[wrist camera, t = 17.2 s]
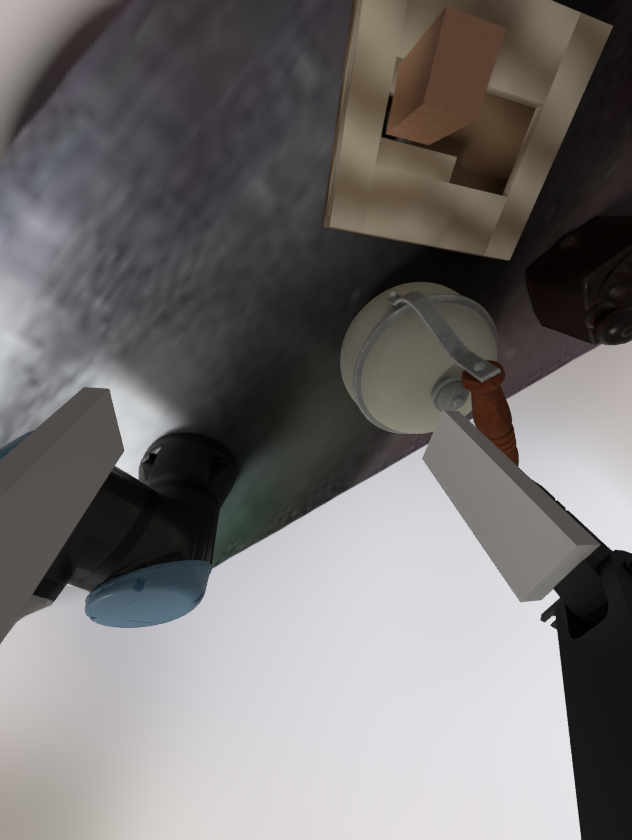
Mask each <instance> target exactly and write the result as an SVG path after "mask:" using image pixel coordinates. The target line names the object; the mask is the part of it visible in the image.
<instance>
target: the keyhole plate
mask: <svg viewBox="0 0 632 840" xmlns="http://www.w3.org/2000/svg"><path fill="white" fill-rule="evenodd" d="M446 6H449V7H452V8H454V9H457V10H460V11H462V12H465V13H468V14H470V15H473V16H475V17H478V18H481V19H483V20H486V21H489V22H491V23H494V24H497V25H499V26H502V27H505V28H506V31H505V34H504V37H503V40H502V43H501V46H500V49H499V53H498V56H497V59H496V62H495V65H494V68H493V71H492V75H491V78H490V81H489V84H488V87H487V90H486V93H485V97H484V100H483V103H482V106H481V109H480V112H479V115H478V119H477V120H476V121H474V122H472V123H471V124H469V125H467V126H465V127H463V128H461V129H459V130H457V131H455V132H453V133H451V134H449V135H447V136H445V137H444V138H442V139H440V140H438V141H436V142H434V143H432V144H430V145H426V144H422V143H418V142H415V141H412V142H411V144H410V145H409V144H405V143H401V142H397V141H393V140H390V139H386V138H382V137H381V133H382V128H383V123H384V118H385V113H386V108H387V103H388V98H389V96H390V97H393V96H394V91H395V86H396V81H397V76H398V71H399V66H400V63H401V62H402V61H403V59H404V58H405V57H406V56H407V54H408V53H409V52H410V51H411V49H412V48H413V47H414V46H415V44H416V43H417V42H418V41H419V40H420V38H421V37H422V36H423V35H424V33H425V32H426V31H427V30H428V28H429V27H430V26H431V25H432V23H433V22H434V21H435V20H436V19H437V17H438V16H439V15H440V14H441V12H442V11H443V10H444V9H445V7H446ZM612 27H613V26H612V25H610V24H607V23H605V22H602V21H600V20H598V19H595V18H593V17H590V16H588V15H586V14H583V13H581V12H578V11H576V10H573V9H571V8H569V7H566V6H564V5H561V4H559V3H557V2H554V1H552V0H353V3H352V10H351V18H350V25H349V32H348V40H347V47H346V54H345V62H344V69H343V76H342V84H341V91H340V99H339V106H338V113H337V121H336V128H335V135H334V143H333V150H332V157H331V165H330V172H329V179H328V187H327V194H326V202H325V209H324V216H323V224H322V227H325V228H331V229H336V230H341V231H347V232H352V233H357V234H363V235H368V236H373V237H379V238H384V239H389V240H394V241H400V242H405V243H410V244H416V245H421V246H426V247H432V248H437V249H442V250H448V251H453V252H458V253H464V254H469V255H474V256H480V257H486V258H494V259H501V260H509V261H510V259H511V256H512V254H513V252H514V249H515V247H516V245H517V243H518V240H519V238H520V236H521V234H522V231H523V229H524V227H525V225H526V222H527V220H528V218H529V215H530V213H531V211H532V209H533V206H534V204H535V202H536V200H537V197H538V195H539V193H540V191H541V188H542V186H543V184H544V181H545V179H546V177H547V175H548V172H549V170H550V168H551V166H552V163H553V161H554V159H555V157H556V154H557V152H558V150H559V147H560V145H561V143H562V141H563V138H564V136H565V134H566V132H567V129H568V127H569V125H570V123H571V120H572V118H573V116H574V114H575V111H576V109H577V107H578V104H579V102H580V100H581V98H582V95H583V93H584V91H585V89H586V86H587V84H588V82H589V80H590V77H591V75H592V73H593V70H594V68H595V66H596V64H597V61H598V59H599V57H600V55H601V52H602V50H603V48H604V46H605V43H606V41H607V39H608V36H609V34H610V32H611V30H612Z"/></svg>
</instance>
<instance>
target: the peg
mask: <svg viewBox="0 0 632 840" xmlns="http://www.w3.org/2000/svg"><path fill="white" fill-rule="evenodd" d="M505 31H506V28H505V27H502V26H499V25H497V24H494V23H491V22H489V21H486V20H483V19H481V18H478V17H475V16H473V15H470V14H468V13H465V12H462V11H460V10H457V9H454V8H452V7H449V6H446V7H445V9H444V10H443V11H442V12H441V14H440V15H439V16H438V17H437V19H436V20H435V21H434V22H433V23H432V25H431V26H430V27H429V28H428V30H427V31H426V32H425V33H424V35H423V36H422V37H421V38H420V40H419V41H418V42H417V43H416V44H415V46H414V47H413V48H412V49H411V51H410V52H409V53H408V54H407V56H406V57H405V58H404V59H403V61H402V62H401V63H400V66H399V71H398V76H397V81H396V86H395V91H394V96H393V97H390V96H389V98H388V103H387V108H386V113H385V118H384V123H383V128H382V133H381V137H382V138H386V139H390V140H393V141H397V142H401V143H405V144H409V145H410V144H411V142H412V141H415V142H418V143H422V144H426V145H430V144H432V143H434V142H436V141H438V140H440V139H442V138H444V137H445V136H447V135H449V134H451V133H453V132H455V131H457V130H459V129H461V128H463V127H465V126H467V125H469V124H471V123H472V122H474V121H476V120H477V119H478V115H479V112H480V109H481V106H482V103H483V100H484V97H485V93H486V90H487V87H488V84H489V81H490V78H491V75H492V71H493V68H494V65H495V62H496V59H497V56H498V53H499V49H500V46H501V43H502V40H503V37H504V34H505Z"/></svg>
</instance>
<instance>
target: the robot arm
mask: <svg viewBox="0 0 632 840" xmlns="http://www.w3.org/2000/svg"><path fill="white" fill-rule="evenodd" d="M123 452H124V447H123V443H122V439H121V435H120V431H119V427H118V423H117V419H116V415H115V411H114V407H113V403H112V399H111V394H110V390H109V389H104V388H88V387H84V388H83V389H82V390H80V391H79V392H78V393H77V394H76V395H75V396H73V397H72V398H71V399H70V400H69V401H68V402H67V403H65V404H64V405H63V406H62V407H61V408H60V409H58V410H57V411H56V412H55V413H54V414H53V415H52V416H50V417H49V418H48V419H47V420H46V421H45V422H43V423H42V424H41V425H40V426H39V427H38V428H37V429H35V430H34V431H31V432H28V433H26V434H24V435H22V436H20V437H18V438H17V439H15V440H13V441H12V442H10V443H8V444H7V445H5V446H3V447H2V448H0V644H1V642H2V641H3V639H4V638H5V636H6V635H7V634H8V633H9V631H10V630H11V629H12V627H13V626H14V625H15V623H16V622H17V621H19V620H20V619H21V618H23V617H24V616H26V615H29V614H31V613H33V612H36V611H38V610H41V609H43V608H45V607H47V606H50V605H51V604H52V603H53V602H54V601H55V600H56V598H57V597H58V595H59V594H60V593H61V591H62V590H63V588H64V587H65V586H66V585H67V584H70V585H73V586H76V587H79V588H82V589H85V590H87V591H89V592H90V593H89V595H88V596H87V598H86V601H85V602H86V605H85V613H86V614H87V616H88V617H90V619H91V620H92V621H94V622H96V623H98V624H101V625H105V626H111V627H120V628H137V627H146V626H153V625H158V624H163V623H166V622H169V621H172V620H175V619H177V618H180V617H182V616H184V615H186V614H187V613H188V612H190V611H191V610H193V609H194V608H195V607H196V606H197V605H198V604H199V603H200V601H201V600H202V598H203V596H204V594H205V590H206V586H207V582H208V578H209V574H210V573H211V570H212V566H211V565H212V558H213V552H214V545H215V538H216V531H217V524H218V518H219V511H220V508H221V506H222V505H223V503H224V501H225V500H226V498H227V497H228V495H229V493H230V492H231V490H232V488H233V486H234V483H235V478H236V463H235V460H234V458H233V456H232V454H231V453H230V452H229V450H228V449H227V448H226V447H224V446H223V445H222V444H220V443H219V442H217V441H215V440H214V439H211V438H209V437H206V436H203V435H198V434H192V433H179V434H173V435H169V436H166V437H163V438H161V439H159V440H157V441H156V442H154V443H153V444H152V445H151V446H150V447H149V448H148V450H147V451H146V453H145V455H144V457H143V458H142V460H141V463H140V466H139V480H137V479H136V478H134V477H132V476H131V475H129V474H127V473H126V472H124V471H123V470H121V469H119V468H118V467H116V466H115V464H116V463H117V461H118V460H119V458H120V457H121V455H122V454H123ZM422 459H423V460H424V462H425V463H426V465H427V466H428V468H429V469H430V470H431V472H432V473H433V475H434V477H435V478H436V479H437V481H438V482H439V484H440V485H441V487H442V488H443V490H444V491H445V493H446V494H447V496H448V497H449V498H450V500H451V501H452V503H453V504H454V506H455V507H456V509H457V510H458V512H459V513H460V514H461V516H462V518H463V519H464V520H465V522H466V523H467V525H468V526H469V528H470V529H471V531H472V532H473V534H474V535H475V537H476V538H477V539H478V541H479V542H480V544H481V545H482V547H483V548H484V550H485V551H486V553H487V554H488V556H489V557H490V559H491V560H492V561H493V563H494V564H495V566H496V567H497V569H498V570H499V572H500V573H501V575H502V576H503V577H504V579H505V580H506V582H507V583H508V585H509V586H510V588H511V589H512V591H513V592H514V594H515V595H516V597H517V598H518V599H519V601H520V602H526V601H537V600H542V599H543V598H544V597H545V596H546V595H547V594H548V593H549V592H550V591H551V590H553V589H554V590H555V591H556V593H557V594H558V595H559V596H560V598H559V599H558V600H557V601H556V602H555V603H554V604H553V605H552V606H550V607H549V608H548V609H547V610H546V611H545V612H544V613H542V615H541V621H543V622H546V621H547V620H548V619H549V618H550V617H551V616H556V620H555V621H554V622H553V623H552V624H551V626H552V627H553V628H555V629H557V632H558V640H559V649H560V658H561V666H562V675H563V684H564V692H565V701H566V709H567V718H568V727H569V736H570V745H571V753H572V762H573V771H574V779H575V788H576V795H577V796H576V797H577V805H578V813H579V822H580V831H581V840H632V553H629V552H626V551H621V550H614V551H612V550H610V549H609V548H608V547H607V546H606V545H605V544H604V543H603V542H601V541H600V540H599V539H598V538H597V537H596V536H595V535H594V534H593V533H592V532H591V531H590V530H589V529H588V528H587V527H585V526H584V525H583V524H582V523H581V522H580V521H579V520H578V519H577V518H576V517H575V516H574V515H573V514H571V513H570V512H569V511H566V510H565V507H564V506H563V505H562V504H561V503H560V502H559V501H555V498H554V497H553V496H552V495H551V494H550V493H549V492H548V491H547V490H546V489H544V488H543V487H542V486H541V485H539V484H538V483H536V482H535V481H533V480H532V479H530V478H529V477H528V476H527V475H526V474H525V473H524V472H523V471H522V470H521V469H520V468H519V467H518V466H517V465H516V464H514V463H513V462H512V461H511V460H510V459H509V458H508V457H507V456H506V455H505V454H504V453H503V452H502V451H501V450H500V449H499V448H497V447H496V446H495V445H494V444H493V443H492V442H491V441H490V440H489V439H488V438H487V437H486V436H485V435H484V434H483V433H481V432H480V431H479V430H478V429H477V428H476V427H475V426H474V425H473V424H472V423H471V422H470V421H469V420H468V419H467V418H466V417H464V416H463V415H462V414H461V413H460V412H459V411H449V410H443V412H442V415H441V417H440V419H439V421H438V424H437V426H436V428H435V431H434V433H433V435H432V437H431V440H430V442H429V444H428V447H427V449H426V451H425V453H424V456H423V458H422Z"/></svg>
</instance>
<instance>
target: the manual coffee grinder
mask: <svg viewBox="0 0 632 840" xmlns="http://www.w3.org/2000/svg"><path fill="white" fill-rule="evenodd" d="M525 273H526V282H527V289H528V292H529V296H530V299H531V303H532V306H533V309H534V313H535V315H536V316H537V318H538V320H539V322H540V324H541V325H542V326H544V327H547V328H550V329H553V330H556V331H558V332H561V333H564V334H566V335H569V336H572V337H575V338H577V339H580V340H583V341H585V342H588V343H591V344H594V345H596V344H598V343H602V344H605V345H618V344H624V343H627V342H629V341H631V340H632V216H613V217H601V216H596V217H595V218H593V219H592V220H590V221H589V222H587V223H586V224H584V225H583V226H581V227H580V228H578V229H577V230H575V231H574V232H572V233H571V234H568V235H567V236H565V237H564V238H563V239H562V240H560V241H559V242H558V243H557V244H555V245H554V246H553V247H552V248H551V249H550V250H549V251H547V252H546V253H545V254H544V255H542V256H541V257H540V258H539V259H537V260H536V261H535V262H534V263H533V264H532V265H531V266H530V267H529V268H528V269H527V270H526V271H525Z"/></svg>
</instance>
